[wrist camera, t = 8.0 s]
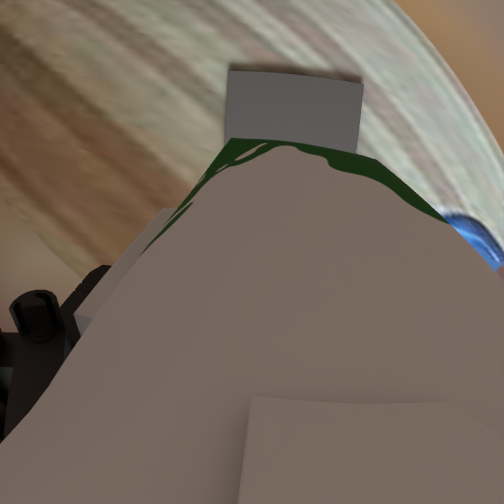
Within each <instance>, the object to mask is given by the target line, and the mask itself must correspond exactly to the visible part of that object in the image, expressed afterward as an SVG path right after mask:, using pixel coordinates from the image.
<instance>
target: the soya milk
mask: <svg viewBox="0 0 504 504" xmlns="http://www.w3.org/2000/svg"><path fill="white" fill-rule="evenodd" d="M0 504H504V281H503V280H502V279H501V278H500V277H499V276H498V274H497V273H496V272H495V271H494V270H493V269H492V268H491V266H490V265H489V264H488V263H487V262H486V261H485V260H484V259H483V258H482V257H481V255H480V254H479V253H478V252H477V251H476V250H475V249H474V248H473V247H472V246H471V245H470V244H469V243H468V242H467V241H466V240H465V239H464V238H463V237H462V236H461V235H460V234H459V233H458V232H457V231H456V230H455V229H454V228H453V227H452V226H451V225H450V224H449V223H448V222H447V221H446V220H445V219H444V218H443V217H442V216H441V215H440V214H439V213H438V212H437V211H436V210H435V209H433V208H432V207H431V206H430V205H429V204H428V203H427V202H426V201H425V200H424V199H423V198H421V197H420V196H419V195H418V194H417V193H416V192H415V191H413V190H412V189H411V188H410V187H409V186H408V185H407V184H405V183H404V182H403V181H402V180H401V179H400V178H398V177H397V176H396V175H395V174H394V173H392V172H391V171H390V170H389V169H387V168H386V167H385V166H384V165H383V164H381V163H380V162H379V161H378V160H376V159H372V158H369V157H366V156H363V155H358V154H354V153H350V152H345V151H341V150H336V149H331V148H326V147H321V146H315V145H310V144H304V143H297V142H290V141H281V140H268V139H243V138H231V139H230V140H229V141H228V143H227V144H226V145H225V146H224V148H223V149H222V150H221V152H220V153H219V154H218V156H217V157H216V158H215V160H214V161H213V162H212V164H211V165H210V166H209V168H208V169H207V171H206V172H205V173H204V175H203V176H202V177H201V179H200V180H199V182H198V183H197V184H196V186H195V187H194V188H193V190H192V191H191V193H190V194H189V195H188V197H187V198H186V199H185V200H184V201H183V203H182V204H181V205H180V206H179V207H178V209H177V210H176V211H175V212H174V213H173V215H172V216H171V217H170V218H169V220H168V221H167V222H166V223H165V224H164V226H163V227H162V228H161V229H160V231H159V232H158V233H157V234H156V236H155V237H154V238H153V240H152V241H151V242H150V243H149V245H148V246H147V247H146V248H145V250H144V251H143V252H142V254H141V255H140V256H139V257H138V259H137V260H136V261H135V263H134V264H133V265H132V267H131V268H130V269H129V271H128V272H127V273H126V275H125V276H124V277H123V279H122V280H121V281H120V283H119V284H118V285H117V287H116V288H115V289H114V291H113V292H112V293H111V295H110V296H109V298H108V299H107V300H106V302H105V303H104V305H103V306H102V307H101V309H100V310H99V312H98V313H97V314H96V316H95V317H94V319H93V320H92V322H91V323H90V325H89V326H88V327H87V329H86V330H85V332H84V333H83V335H82V336H81V338H80V339H79V341H78V342H77V344H76V345H75V347H74V348H73V350H72V351H71V353H70V354H69V356H68V357H67V359H66V360H65V362H64V363H63V365H62V366H61V368H60V369H59V371H58V372H57V374H56V376H55V377H54V379H53V380H52V382H51V383H50V385H49V387H48V388H47V389H46V391H45V392H44V393H43V395H42V396H41V397H40V399H39V400H38V401H37V403H36V404H35V405H34V407H33V408H32V409H31V411H30V412H29V413H28V414H27V415H26V416H25V417H24V418H23V419H22V421H21V422H20V423H19V424H18V425H17V426H16V427H15V428H14V429H13V430H12V432H11V433H10V434H9V435H8V436H7V437H6V438H5V439H4V440H3V441H2V443H1V444H0Z"/></svg>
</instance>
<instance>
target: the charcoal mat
mask: <svg viewBox="0 0 504 504" xmlns="http://www.w3.org/2000/svg"><path fill="white" fill-rule="evenodd" d="M363 85H364V84H359V83H354V82H348V81H342V80H335V79H328V78H321V77H313V76H304V75H295V74H284V73H271V72H254V71H228V86H227V105H226V127H225V145H226V144H227V143H228V141H229V140H230V139H231V138H243V139H268V140H281V141H290V142H297V143H304V144H310V145H315V146H321V147H326V148H331V149H336V150H341V151H345V152H350V153H354V154H356V149H357V141H358V133H359V124H360V116H361V106H362V96H363Z"/></svg>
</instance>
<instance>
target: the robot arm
mask: <svg viewBox="0 0 504 504" xmlns="http://www.w3.org/2000/svg"><path fill="white" fill-rule="evenodd" d="M176 210H177V209H172V208H163V209H162V210H161V211H160V212H159V213H158V214H157V215H156V216H155V218H154V219H153V220H152V221H151V222H150V223H149V224H148V225H147V226H146V227H145V229H144V230H143V231H142V232H141V233H140V234H139V235H138V236H137V238H136V239H135V240H134V241H133V242H132V243H131V244H130V246H129V247H128V248H127V249H126V250H125V251H124V252H123V254H122V255H121V256H120V257H119V258H118V260H117V261H116V262H115V263H114V264H113V265H112V266H109V265H101V266H100V267H98V268H96V269H94V270H93V271H91V272H90V273H89V274H88V275H87V276H86V277H85V279H84V280H83V281H82V283H80V284H79V285H78V287H77V288H76V289H75V291H73V292H72V294H71V295H70V296H69V297H68V298H67V299H66V301H65V302H64V303H63V304H62V305H61V307H59V304H58V301H57V298H56V296H55V295H54V294H53V293H52V292H50V291H47V290H33V291H29V292H26V293H24V294H22V295H21V296H19V297H18V298H17V299H15V300H14V301H13V302H12V304H11V305H10V307H9V310H10V313H11V315H12V318H13V320H14V323H15V325H16V327H17V329H18V332H19V333H9V332H8V333H7V332H2V331H1V328H0V444H1V443H2V441H3V440H4V439H5V438H6V437H7V436H8V435H9V434H10V433H11V432H12V430H13V429H14V428H15V427H16V426H17V425H18V424H19V423H20V422H21V421H22V419H23V418H24V417H25V416H26V415H27V414H28V413H29V412H30V411H31V409H32V408H33V407H34V405H35V404H36V403H37V401H38V400H39V399H40V397H41V396H42V395H43V393H44V392H45V391H46V389H47V388H48V387H49V385H50V383H51V382H52V380H53V379H54V377H55V376H56V374H57V372H58V371H59V369H60V368H61V366H62V365H63V363H64V362H65V360H66V359H67V357H68V356H69V354H70V353H71V351H72V350H73V348H74V347H75V345H76V344H77V342H78V341H79V339H80V338H81V336H82V335H83V333H84V332H85V330H86V329H87V327H88V326H89V325H90V323H91V322H92V320H93V319H94V317H95V316H96V314H97V313H98V312H99V310H100V309H101V307H102V306H103V305H104V303H105V302H106V300H107V299H108V298H109V296H110V295H111V293H112V292H113V291H114V289H115V288H116V287H117V285H118V284H119V283H120V281H121V280H122V279H123V277H124V276H125V275H126V273H127V272H128V271H129V269H130V268H131V267H132V265H133V264H134V263H135V261H136V260H137V259H138V257H139V256H140V255H141V254H142V252H143V251H144V250H145V248H146V247H147V246H148V245H149V243H150V242H151V241H152V240H153V238H154V237H155V236H156V234H157V233H158V232H159V231H160V229H161V228H162V227H163V226H164V224H165V223H166V222H167V221H168V220H169V218H170V217H171V216H172V215H173V213H174V212H175V211H176Z"/></svg>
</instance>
